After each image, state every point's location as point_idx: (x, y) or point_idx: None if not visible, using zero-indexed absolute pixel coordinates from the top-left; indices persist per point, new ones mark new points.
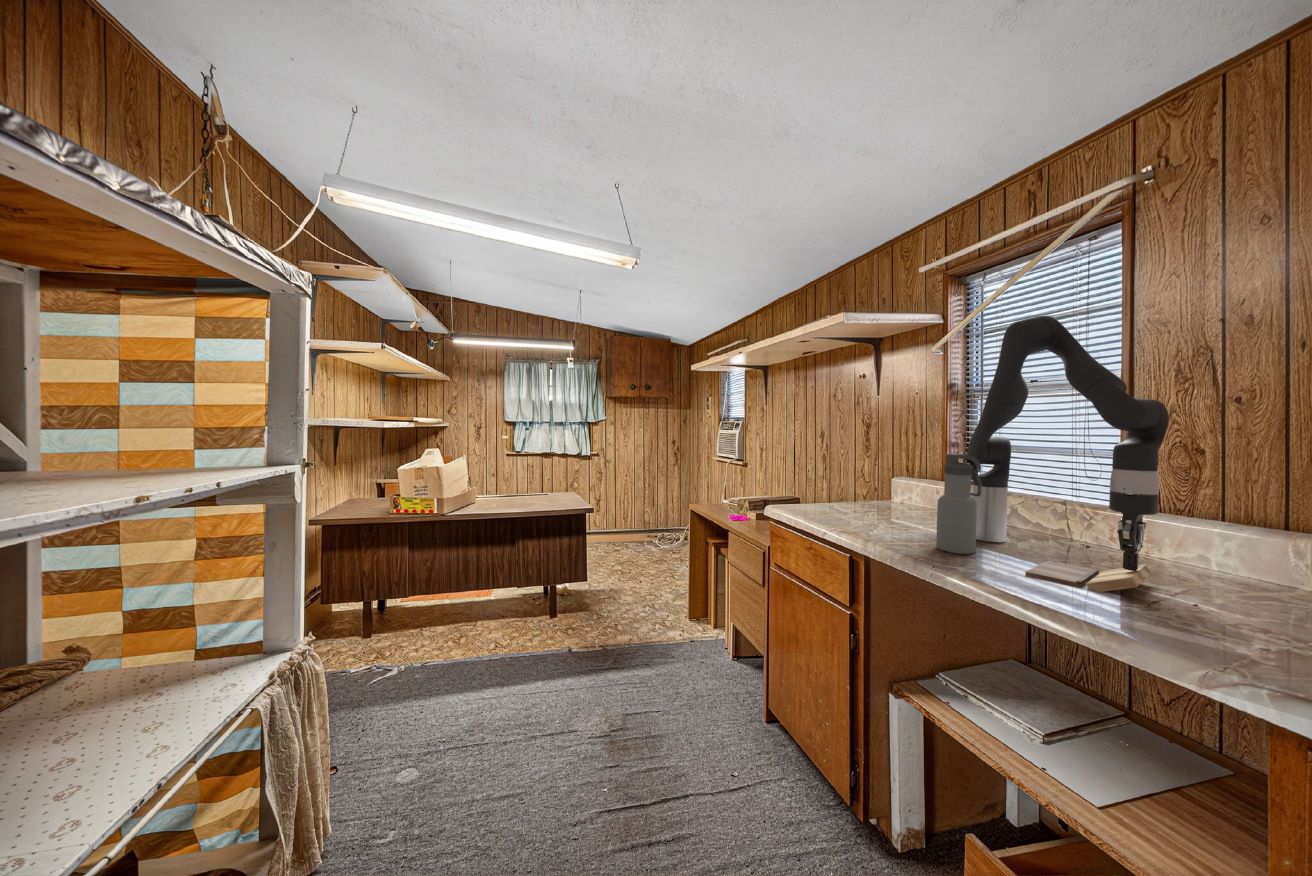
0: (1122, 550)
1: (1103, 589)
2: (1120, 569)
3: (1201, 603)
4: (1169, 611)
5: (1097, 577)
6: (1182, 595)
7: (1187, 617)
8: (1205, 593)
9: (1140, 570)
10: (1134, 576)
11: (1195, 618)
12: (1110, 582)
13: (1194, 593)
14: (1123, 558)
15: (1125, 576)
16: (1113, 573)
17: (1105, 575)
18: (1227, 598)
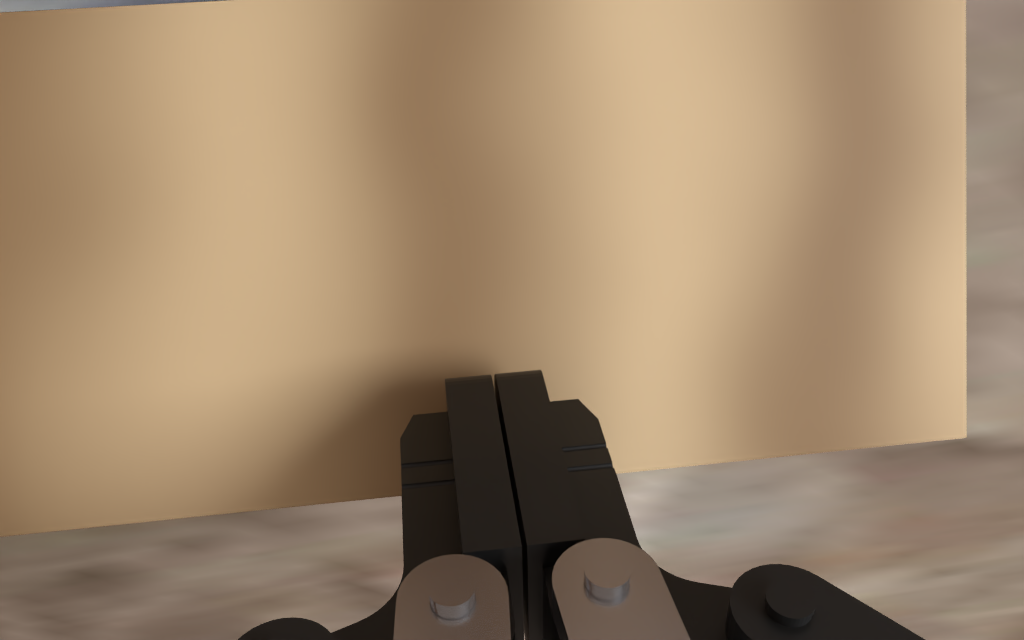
0: (403, 590)
1: None
2: (864, 194)
3: None
4: (177, 529)
5: (396, 41)
6: (809, 470)
7: (139, 606)
8: (1008, 523)
9: None
10: (165, 514)
11: (171, 629)
12: None
13: (950, 493)
14: (457, 474)
15: (141, 437)
16: (569, 191)
17: (488, 116)
18: (955, 601)
